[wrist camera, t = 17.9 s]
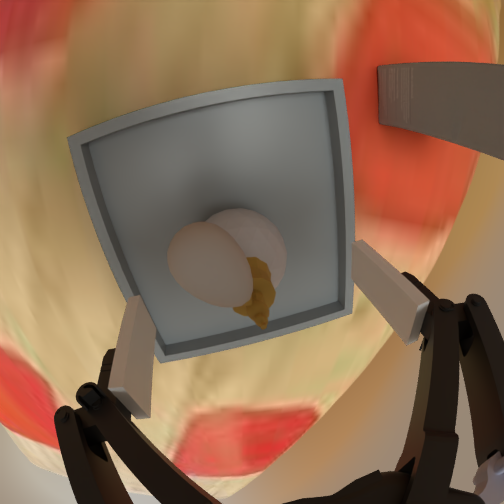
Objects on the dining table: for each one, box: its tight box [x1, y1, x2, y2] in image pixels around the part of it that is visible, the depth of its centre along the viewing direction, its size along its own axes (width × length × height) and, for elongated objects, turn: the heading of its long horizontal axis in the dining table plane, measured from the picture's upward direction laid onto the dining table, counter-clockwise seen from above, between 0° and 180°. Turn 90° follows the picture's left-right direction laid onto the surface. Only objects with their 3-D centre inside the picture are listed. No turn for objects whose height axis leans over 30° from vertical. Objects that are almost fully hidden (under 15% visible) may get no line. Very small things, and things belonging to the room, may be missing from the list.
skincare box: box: [378, 62, 504, 160], centre depth 15 cm, size 8×7×16 cm
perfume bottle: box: [167, 208, 287, 330], centre depth 19 cm, size 8×10×12 cm
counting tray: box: [67, 79, 355, 363], centre depth 24 cm, size 24×22×2 cm
